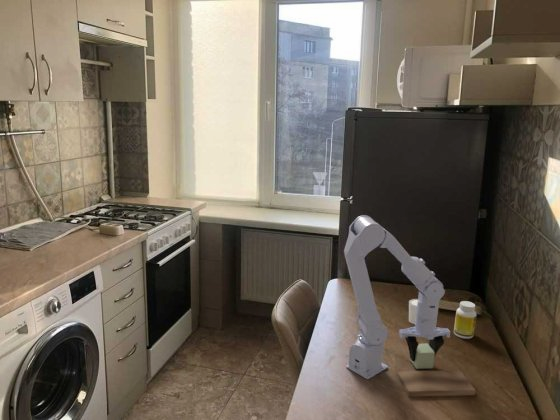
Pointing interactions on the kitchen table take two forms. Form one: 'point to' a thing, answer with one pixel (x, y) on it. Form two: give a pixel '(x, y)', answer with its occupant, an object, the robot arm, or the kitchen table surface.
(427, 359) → the sage cube
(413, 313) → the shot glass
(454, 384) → the walnut board
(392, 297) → the kitchen table surface
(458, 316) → the pill bottle
